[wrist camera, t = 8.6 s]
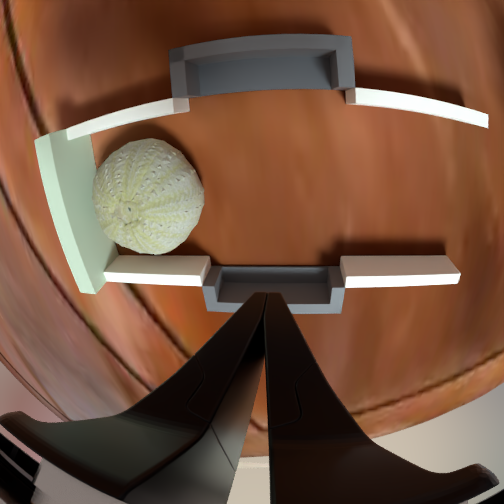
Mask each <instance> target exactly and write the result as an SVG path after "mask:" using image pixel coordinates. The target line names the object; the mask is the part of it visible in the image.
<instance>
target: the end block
mask: <svg viewBox="0 0 504 504" xmlns="http://www.w3.org/2000/svg"><path fill="white" fill-rule="evenodd" d="M35 147H36V152H37V158H38V163H39V168H40V172H41V177H42V181H43V185H44V189H45V193H46V197H47V201H48V204H49V208H50V211H51V215H52V218H53V221H54V224H55V227H56V231H57V234H58V236H59V239H60V242H61V245H62V248H63V251H64V253H65V256H66V258H67V261H68V264H69V266H70V269H71V271H72V273H73V276H74V278H75V281H76V283H77V285H78V287H79V290H80V292H82V293H90V294H97V292H98V291H99V290H100V289H101V287H102V286H103V285H104V284H105V283H106V282H107V280H106V278H105V275H104V271H105V270H106V269H107V268H108V266H109V265H110V264H111V263H112V262H113V261H114V260H115V259H116V258H117V257H118V256H119V254H118V251H117V248H116V244H115V241H114V240H112V239H110V238H108V236H107V235H106V234H105V233H104V232H103V231H102V229H101V226H100V224H99V221H98V220H97V219H96V214H95V209H94V205H93V201H92V189H93V180H94V179H93V178H95V175H96V172H97V169H96V164H95V159H94V154H93V148H92V142H91V136H90V134H89V135H85V136H82V137H78V138H75V139H72V140H68V137H67V130H66V129H64V130H60V131H56V132H53V133H49V134H47V135H45V136H42V137H40V138H38V139H36V140H35Z"/></svg>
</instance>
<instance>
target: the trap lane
mask: <svg viewBox="0 0 504 504" xmlns="http://www.w3.org/2000/svg"><path fill="white" fill-rule="evenodd" d="M168 51H169V65H170V77H171V88H172V98H170V99H165V100H161V101H156V102H152V103H147V104H143V105H139V106H135V107H132V108H128V109H124V110H121V111H117V112H114V113H110V114H107V115H104V116H101V117H98V118H95V119H92V120H89V121H86V122H83V123H80V124H78V125H75V126H72V127H70V128H67V129H66V130H67V137H68V140H72V139H75V138H78V137H82V136H85V135H89V134H92V133H96V132H99V131H102V130H106V129H110V128H113V127H117V126H121V125H125V124H129V123H133V122H137V121H141V120H146V119H150V118H155V117H160V116H165V115H171V114H176V113H182V112H188V111H190V108H189V98H194V97H201V96H208V95H215V94H224V93H233V92H243V91H256V90H275V89H328V90H345V93H346V104H354V105H366V106H376V107H385V108H393V109H400V110H407V111H413V112H419V113H425V114H430V115H435V116H440V117H444V118H449V119H453V120H457V121H461V122H465V123H470V124H474V125H478V126H482V127H486V128H488V115H487V114H484V113H481V112H478V111H475V110H472V109H469V108H465V107H462V106H458V105H454V104H450V103H446V102H442V101H438V100H434V99H429V98H424V97H419V96H414V95H408V94H403V93H396V92H389V91H382V90H374V89H364V88H355V73H354V60H353V49H352V39H351V36H340V35H325V34H272V35H257V36H245V37H236V38H228V39H221V40H215V41H209V42H203V43H198V44H192V45H188V46H183V47H179V48H174V49H170V50H168ZM460 274H461V273H460V272H459V271H458V269H457V268H456V267H455V266H454V264H453V263H452V262H451V261H450V259H449V258H448V257H447V256H446V255H431V256H341V258H340V266H211V261H210V256H145V255H119V256H118V257H117V258H116V259H115V260H114V261H113V262H112V263H111V264H110V265H109V266H108V268H107V269H106V270H105V271H104V275H105V278H106V280H107V281H111V282H127V283H144V284H163V285H185V286H202V288H203V293H204V298H205V302H206V307H207V311H218V312H236V311H237V310H238V309H239V308H240V307H241V306H242V305H243V304H244V302H245V301H246V300H247V299H248V298H249V297H250V296H251V295H252V294H253V293H254V292H267V294H268V293H269V292H280V293H281V294H282V296H283V298H284V300H285V301H286V303H287V305H288V307H289V309H290V311H291V313H292V314H328V313H341V310H342V304H343V298H344V291H345V288H351V287H392V286H418V285H439V284H456V283H458V280H459V277H460Z"/></svg>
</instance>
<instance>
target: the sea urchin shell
mask: <svg viewBox="0 0 504 504" xmlns="http://www.w3.org/2000/svg"><path fill="white" fill-rule="evenodd" d="M93 179H94V180H93V189H92V201H93V205H94V209H95V214H96V219H97V220H98V221H99V224H100V226H101V229H102V231H103V232H104V233H105V234H106V235H107V236H108V238H110V239H112V240H114V241H115V242H116V243H118V244H119V245H120V246H122V247H126V248H129V249H131V250H134V251H136V252H139V253H148V254H154V255H157V254H162V253H166V252H169V251H170V252H171V250H173V249H174V248H176V247H177V246H178V245H180V244H181V243H182V242H185V240H186V239H187V237H188V235H189V234H190V232H191V231H192V229H193V228H194V227H195V226H196V225H197V224H198V221H199V217H200V214H201V211H202V208H203V205H204V188H203V186H202V184H201V182H200V180H199V178H198V175H197V173H196V171H195V170H194V169H193V167H192V165H190V164H189V162H188V161H187V160H186V159H185V157H184V155H183V154H182V153H181V151H178V150H177V149H175V148H174V147H172V146H171V145H169V144H168V143H166V142H165V141H164V140H163V141H162V140H158V139H153V138H150V139H148V138H147V139H143V140H138V141H134V142H129V143H127V144H126V145H125V146H122V147H121V148H119V149H118V150H117V151H114V152H113V153H112V154H111V155H109V157H108V158H107V159H106V160H105V162H104V163H103V164H102V165H101V166H100V167H99V168H98V169H97V172H96V175H95V178H93Z"/></svg>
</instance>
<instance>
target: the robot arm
mask: <svg viewBox="0 0 504 504" xmlns="http://www.w3.org/2000/svg"><path fill="white" fill-rule="evenodd" d="M264 359H265V370H266V392H267V414H268V439H269V470H270V504H468V500H469V499H471V498H473V497H476V496H477V495H480V494H481V493H483V492H486V491H487V490H489V489H491V488H493V487H495V486H497V485H498V484H499V480H498V479H497V477H496V476H495V474H494V473H492V472H491V471H490V470H489V469H487V468H486V467H484V466H482V465H481V464H479V463H478V464H473V465H470V466H467V467H465V468H462V469H459V470H457V471H454V472H450V473H435V472H430V471H428V470H425V469H423V468H421V467H419V466H417V465H415V464H413V463H410V462H409V461H407V460H405V459H403V458H401V457H399V456H397V455H395V454H394V453H392V452H390V451H388V450H386V449H384V448H383V447H381V446H379V445H377V444H376V443H374V442H373V441H372V440H371V439H370V438H369V437H368V436H367V435H366V434H365V433H364V432H363V430H362V429H361V428H360V427H359V425H358V424H357V423H356V421H355V420H354V418H353V417H352V416H351V414H350V413H349V412H348V410H347V409H346V408H345V406H344V405H343V404H342V402H341V401H340V399H339V398H338V397H337V395H336V394H335V392H334V391H333V389H332V388H331V386H330V385H329V383H328V381H327V380H326V378H325V376H324V374H323V373H322V371H321V369H320V367H319V365H318V363H317V362H316V359H315V357H314V355H313V353H312V352H311V350H310V348H309V346H308V344H307V342H306V340H305V338H304V336H303V334H302V332H301V330H300V328H299V326H298V325H297V323H296V321H295V319H294V317H293V315H292V313H291V311H290V309H289V307H288V305H287V303H286V301H285V300H284V298H283V296H282V294H281V293H280V292H269V293H268V294H267V292H254V293H253V294H252V295H251V296H250V297H249V298H248V299H247V300H246V301H245V302H244V304H243V305H242V306H241V307H240V308H239V309H238V310H237V311H236V312H235V313H234V314H233V315H232V316H231V317H230V318H229V319H228V320H227V321H226V322H225V323H224V325H223V326H222V327H221V328H220V329H219V330H218V331H217V332H216V333H215V334H214V335H213V336H212V337H211V338H210V339H209V340H208V341H207V342H206V343H205V344H204V345H203V346H202V347H201V348H200V349H199V350H198V351H197V352H196V353H195V355H193V356H192V357H191V358H190V359H189V360H188V361H187V362H186V363H185V364H184V365H183V366H182V367H181V368H180V369H179V370H178V371H177V372H176V373H174V374H173V375H172V376H171V377H170V378H168V379H167V380H166V381H165V382H164V383H162V384H161V385H160V386H158V387H157V388H156V389H155V390H153V391H152V392H151V393H149V394H148V395H147V396H145V397H144V398H143V399H141V400H140V401H139V402H137V403H136V404H135V405H133V406H132V407H130V408H129V409H127V410H126V411H124V412H122V413H119V414H117V415H114V416H109V417H103V418H96V419H88V420H79V421H69V422H58V423H47V422H40V421H37V420H35V419H33V418H31V417H30V416H28V415H26V414H25V413H23V412H21V411H17V412H10V413H6V414H4V415H2V416H0V424H1V425H2V426H3V427H4V428H5V429H6V430H7V431H9V432H10V433H11V434H12V435H13V436H15V437H16V438H17V439H18V440H19V441H21V442H22V443H24V444H25V445H26V446H27V447H28V448H30V449H31V450H33V451H34V452H35V453H37V454H38V455H39V456H41V457H42V460H41V462H40V463H39V462H37V461H36V460H35V459H33V458H32V457H30V456H29V455H28V454H27V453H25V452H24V451H23V450H21V449H20V448H19V447H17V446H16V445H15V444H14V443H12V442H11V441H10V440H9V439H8V438H6V437H5V436H4V435H3V434H1V433H0V504H227V500H228V497H229V493H230V490H231V487H232V483H233V480H234V476H235V472H236V469H237V466H238V462H239V458H240V455H241V451H242V447H243V444H244V440H245V436H246V432H247V429H248V425H249V421H250V417H251V413H252V409H253V405H254V401H255V397H256V393H257V389H258V385H259V381H260V376H261V372H262V368H263V364H264ZM476 504H504V489H502V490H501V491H499V492H497V493H495V494H494V495H492V496H490V497H488V498H486V499H484V500H483V501H481V502H479V503H476Z"/></svg>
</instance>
